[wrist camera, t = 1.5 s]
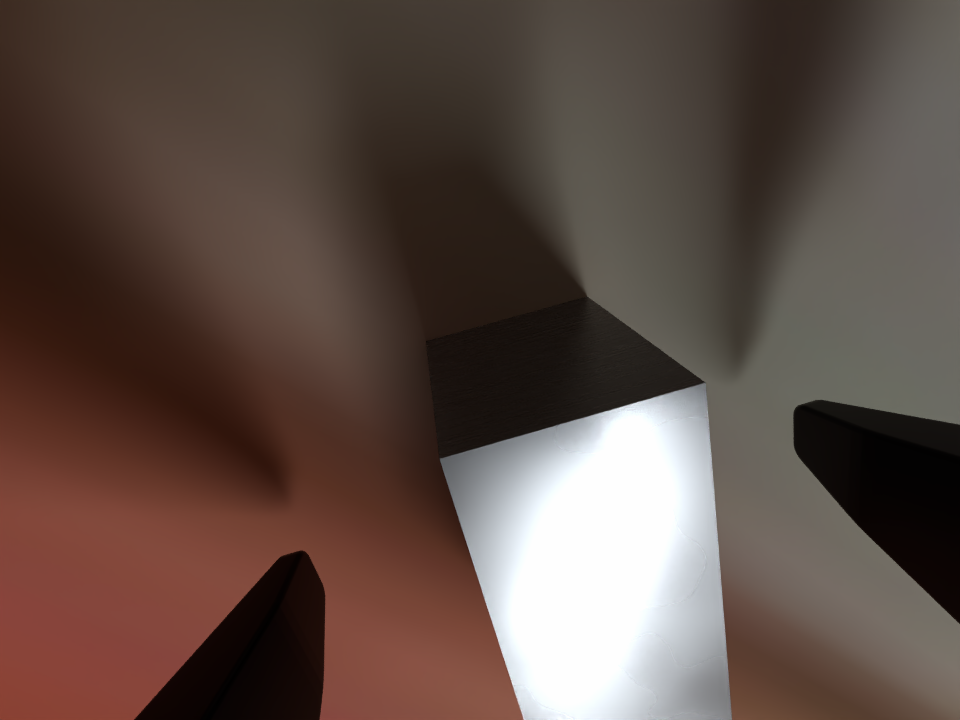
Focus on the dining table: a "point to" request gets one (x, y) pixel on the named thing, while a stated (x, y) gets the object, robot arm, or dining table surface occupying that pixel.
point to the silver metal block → (587, 513)
